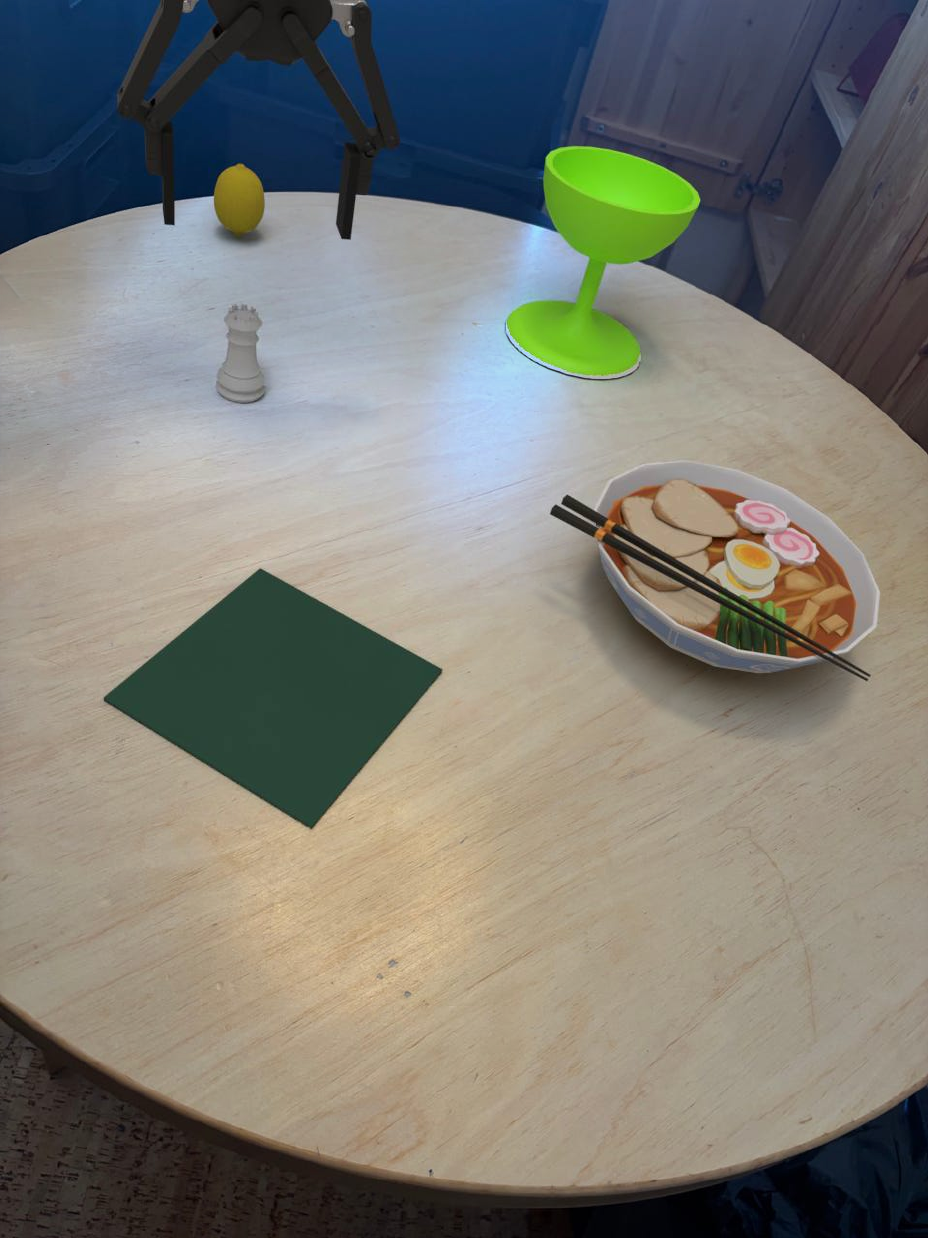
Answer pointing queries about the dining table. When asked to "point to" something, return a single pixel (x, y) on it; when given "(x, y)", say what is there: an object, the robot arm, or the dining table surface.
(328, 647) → the mat
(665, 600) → the ramen bowl
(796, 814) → the dining table surface
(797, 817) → the dining table surface
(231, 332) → the rook chess piece
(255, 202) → the lemon
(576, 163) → the wineglass
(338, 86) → the robot arm
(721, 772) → the dining table surface
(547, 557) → the dining table surface
